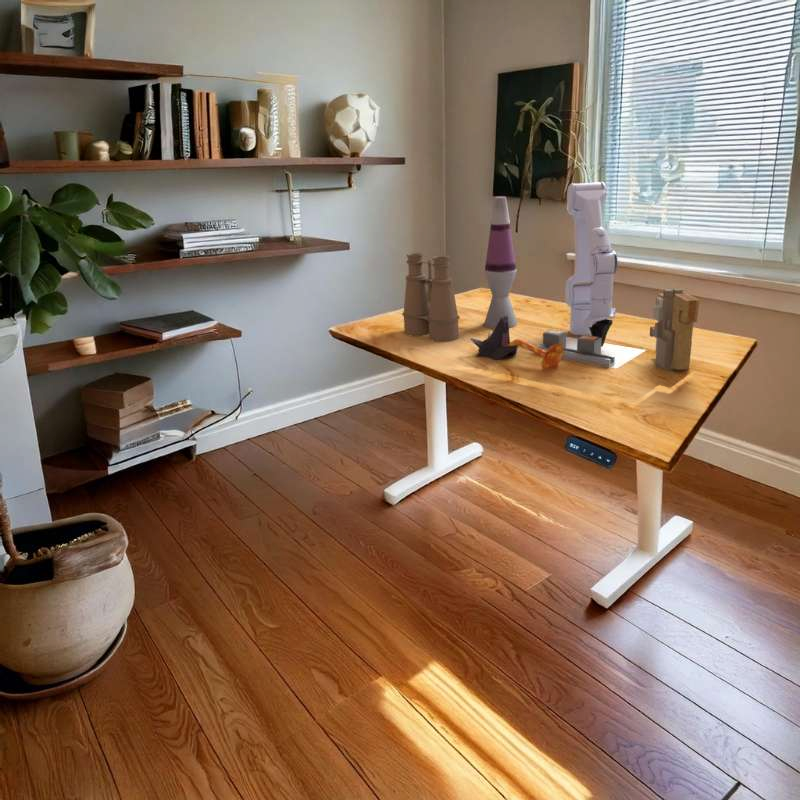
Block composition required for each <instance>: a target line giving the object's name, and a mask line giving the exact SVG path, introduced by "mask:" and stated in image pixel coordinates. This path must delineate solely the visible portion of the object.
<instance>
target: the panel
mask: <svg viewBox="0 0 800 800" xmlns="http://www.w3.org/2000/svg"><path fill="white" fill-rule="evenodd" d="M577 338H578V337H577ZM577 338H575V337H569V336H566V348H569V349H575V350H577ZM646 351H647V349H641V348H635V347H630V346H629V347H628V346H623V345H618V344H611V343H606V342H604V345H603V346H602V347H601V354H603V355H608V356H614V357H615V364H614V365H612V366H610V367H609V368H611V369H616V370H617V369H619V368H621V367H622V366H623V365H625V364H627V363H628V362H630V361H631V360H633V359H635V358H637V357H638V356H641V354H643V353H644V352H646ZM529 353H532V354H534V353H533V352H531V351H529ZM562 359H563V358H561V360H562ZM567 360H569V359H567ZM569 361H570V360H569ZM572 361H574V360H572ZM574 362H575V361H574ZM577 362H578V363H580V362H579V361H577ZM582 363H584V362H582ZM588 364H589V365H591V364H590V363H588ZM593 365H595V364H593ZM595 366H596V365H595ZM598 366H599V367H601V366H600V365H598ZM603 367H605V366H603Z"/></svg>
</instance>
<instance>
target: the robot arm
mask: <svg viewBox="0 0 800 800" xmlns="http://www.w3.org/2000/svg"><path fill="white" fill-rule="evenodd" d="M606 198H607V186H606V184H605V182H604V181H599V182H598V181H597V182H583V183H582V182H581V183H570V184H569V185H568V187H567V193H566V204H567V205H566V208H567V214H568V215H570V216H572V217H573V223H574V224H573V225H574V263H575V264H574V266H575V273H574V274H573V275H572V276H570V277H569V278H568V279H567V280H566V282H565V291H564V292H565V294H564V297H565V303H566V305H567V306H568V307H570V314H569V315H570V317H569V319H570V321H569V333H570V334H572V335H574V336H575V335H576V336H583V335H589V336H595V337H602V341H601V347H602V346H603V345H604V343H606V342H605V341H606V339H607V338H606V337H607V335H608V332H609V330H610V328H611V326H612V325H613V324H614V323H613V321H614V320H613V319H615V318H616V312H617V311H616V310H617V309H616V308H615V307H612V306H613V289H614V277H615V276H614V275H616V273H617V272H618V264H619V263H618V260H619V259H618V255H617V253H616V252H615V250H614V248H612V244H611V240H610V235H609V231H608V230H607V229H605V228H604V225H603V224H604V223H603V215H602V208H603V207H604V205H605V202H606V201H607V199H606ZM585 283H587V284H585ZM588 283H589V284H588Z"/></svg>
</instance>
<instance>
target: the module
mask: <svg viewBox="0 0 800 800" xmlns="http://www.w3.org/2000/svg"><path fill="white" fill-rule="evenodd" d="M601 341H602V337H595V336H592V335H580V337H577V350H580V351H586V352H591V353H597V354H601Z"/></svg>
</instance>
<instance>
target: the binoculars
mask: <svg viewBox="0 0 800 800" xmlns="http://www.w3.org/2000/svg"><path fill="white" fill-rule="evenodd" d="M423 256H424V252H408V253H406V257H407V260H406V262H405V263H406V264H407V265H408V267H407V268H408V275H406V276H405V281H406V282H405V290H404V291H405V294H404V305H403V312H401V313H402V315H401V316H402V317H403V325H404V335H406V334H407V335H406V336H409V335H411V336H410V337H424V336H423V335H425V336H428V339H429V340H430V341H432V340H433V342H437V341H438V342H437V343H447V341H448V342H452V341H456V340H458V339H460V338H459V337H460V334H459V320H460V316H459V314H458V309H457V304H456V302H457V301H456V296H455V291H454V285H453V283H454V280H453V278H452V277H450V266H451V265H452V264H451V263H452V262H450V258H451V255H447V254H445V255H444V254H439V255H434V256H432V260H431V259H428V260H425V259H423V258H424V257H423ZM423 264H427V268H428V269H427V271H428V276H427V275H426V274H425V273H424V265H423ZM432 267H433V270H434V271H433V272H434V273H433V274H434V275H433V276H434V277H433V276H432ZM428 334H429V335H428Z"/></svg>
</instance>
